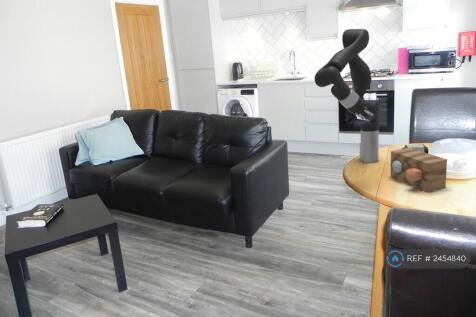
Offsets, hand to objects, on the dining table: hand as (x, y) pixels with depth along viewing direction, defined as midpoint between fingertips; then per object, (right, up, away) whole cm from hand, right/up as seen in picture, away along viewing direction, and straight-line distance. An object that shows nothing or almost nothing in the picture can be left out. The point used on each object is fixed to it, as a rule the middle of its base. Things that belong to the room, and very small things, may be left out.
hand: (374, 123), depth 182 cm
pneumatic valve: (+28, -20, +23) cm, 42 cm away
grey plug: (+17, -21, +6) cm, 28 cm away
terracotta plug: (+18, -25, -5) cm, 31 cm away
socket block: (+20, -26, +2) cm, 33 cm away
